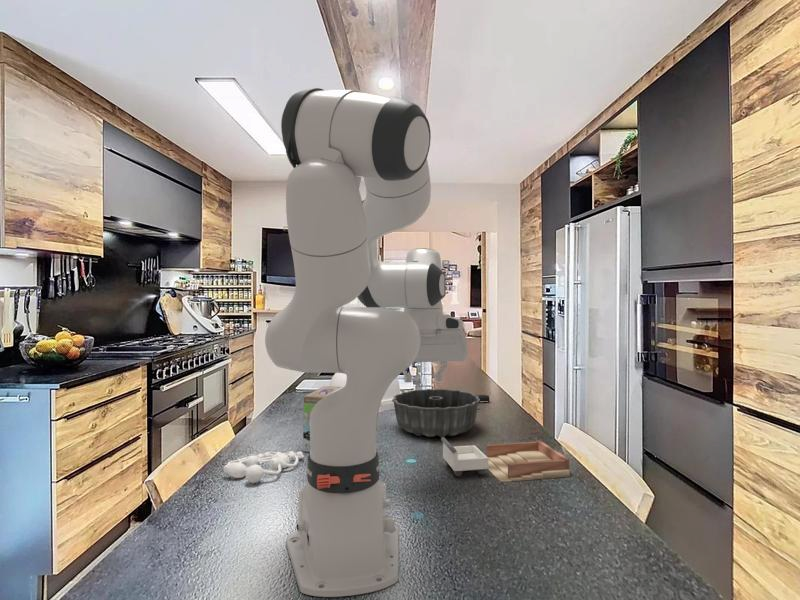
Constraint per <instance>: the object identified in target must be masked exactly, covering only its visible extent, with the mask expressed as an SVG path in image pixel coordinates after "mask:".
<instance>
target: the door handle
mask: <svg viewBox="0 0 800 600" xmlns="http://www.w3.org/2000/svg"><path fill="white" fill-rule="evenodd" d="M475 395H476V396H479V399H480V401H489V402H490V395H486V394H475ZM477 410H480V411H481V408H480V406H479V405H478V407H477Z"/></svg>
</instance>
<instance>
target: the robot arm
mask: <svg viewBox="0 0 800 600" xmlns="http://www.w3.org/2000/svg"><path fill="white" fill-rule="evenodd" d="M280 123H281V124H280V125H281V126H280V127H281V128H280V129H281V136H282V142H283V146H284V149H285V153H286V157H287V159H288V161H289V163H290V165H291V166H292V168H293V169H292V170H291V171H290V172H289V174H288V176H287V179H286V185H285V187H286V189H285V210H286V211H285V213H286V224H287V232H288V239H289V245H290V248H291V255H292V259H293V267H294V269H293V270H294V277H295V289H294V294H293V296H292V298H291V300H290V301H289V303H288V304H287V305H286V307H284V308H283V309H281V310H280V311H279V312H277V313H276V314H275V315H274V316H273V317H272V318H271V319H270V322H269V323H268V326H267V328H266V331H265V336H264V340H265V341H264V343H265V349H266V352H267V355H268V358H269V359H270V360H271V361H272V363H273V364H274V365H275V366H276V367H278V368H282V369H286V370H289V371H295V372H301V373H315V374H317V373H319V374H321V373H323V374H324V373H325V374H326V373H328V374H335V373H344V374H346V375H347V381H346V385H345V387H343V388H342V389H340V390H338V391H336V392H334V393H331V394H329V395H328V396H326V397H324V398H322V399H321V400H320V401H318V402H317V403H316V404H315V406H314V407H313V409H312V411H311V414H310V452H309V454H308V456H307V460H306V461H307V462H306V478H307V481H306V483H305V484H304V485H303V486H302V487H301V489H299V490H298V499H297V500H298V504H297V505H298V506H297V515H298V516H297V524H296V530H295V531H293V532H291V533H289V534H288V535H286V537H285V538H286V539H285V546H286V549H287V553H288V557H289V558H290V559H291V560H290V563H291V567H292V568H293V569H294V570H293V573H294V577H295V579H296V582H297V586H298V589H299V591H300V592H301V594H305V595H306V596H313V597H320V598H321V597H323V598H337V597H347V596H356V595H357V596H358V595H363V594H368V593H373V592H377V591H380V590H384V589H386V588H388V587H391V586H392V585H394V584H396V583H397V582H398V580H399V562H400V561H399V557H400V556H399V552H400V551H399V548H400V547H399V545H400V544H399V540H400V539H399V537H400V536H399V535H400V534H399V531H400V530H399V526H398V525H397V524H396V523H395V522H396V521H395V516H394V515H389V516H387V509H388V508H391V498H387V494H386V493H387V484H386V483H385V482H384V481H382V480H381V479H380V467H381V466H380V459H379V452H378V451H377V430H378V419H379V418H378V415H379V412H378V411H379V407H380V403H381V400H382V398H383V396H384V394H385V392H386V390H387V388H388V387H389V385H390V384H391V383H392V382H393V380H394V379H395V378H396V377H398V376H400V375H401V374H403V381H404V382H405V383H412V381H413V379H412V377H413V374H411V373H408V371H407V369H409V368H410V367H411V366H412V365H413V363H433V362H434V363H436V362H437V363H438V366H440V367H439V369H438V370H437V372H434V373H433V375H434V376H433V377H434V381H435V382H443V374H444V372H445V371H446V369H447V367H448V362H464V361H466V359H467V358H468V341H467V336H466V334H465V331H463V330H462V329H463V328H464V321H463V320H462V319H460V318H457V317H454V316H451V315H450V314H444V312H443V311H444V310H443V309H444V308H443V307H444V305H443V303H442V300H443V299H444V298H445V297H446V277H447V276H446V273H445V272H444V271H443V267H442V261H441V255H440V252H438V251H437V250H435V249H432V248H431V249H430V248H424V247H423V248H421V247H420V248H413V249H411V250H409V251H408V252H407V253H406V259H405V262H403V261H401V262H388V261H386V262H385V261H381V260H379V259H378V239H381V238H382V237H384V236H386V235H388V234H392V233H393V232H394V233H395V232H397V231H401V230H404V229H406V228H408V227H410V226H411V225H413V224H414V223H416V222H417V221H418V220H419V219H420V218H421V217H422V216H423V215H424V214H425V212H426V211H427V209H428V208H429V205H430V203H431V192H432V190H431V189H432V187H431V175H430V168H429V162H428V155H429V153H430V152H429V151H430V147H431V139H432V138H431V127H430V123H429V119H428V118H427V116H426V114H425V112H424V111H423V109H422V108H421V107H420V106H419V105H418V104H416V103H414V102H412V101H410V100H407V99H404V98H402V97H401V98H400V97H393V98H390V97H386V96H382V95H378V94H374V93H367V92H362V91H359V90H356V89H323V88H321V87H320V88H319V87H315V88H308V89H304V90H300V91H298V92H296V93H294V94H292V95H291V96H290V97H289V99H288V101H286V104H285V107H284V110H283V112H282V116H281V121H280ZM362 178H363V180H364V185H365V194H366V195H365V198H364V199H362V196H361V192H360V186H361V181H362ZM356 299H357V300H358V301H359V302H360V303H361V304H362V305H364V307H363V306H362V307H360V306H359V307H358V306H357V307H356V306H355V307H354V306H353V307H351V306H350V307H349V306H347V307H345V306H346V305H347V304H349V303H351V302H353V301H354V300H356ZM396 308H397V309H403V311H402V310H397V309H396Z"/></svg>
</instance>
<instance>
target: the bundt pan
mask: <svg viewBox="0 0 800 600" xmlns="http://www.w3.org/2000/svg"><path fill="white" fill-rule="evenodd" d="M401 392H402V393H401V394H397V395H395V396H394V397H393V399H392V402H394V407H395V409H394V412H395V417H396V423H397V424H398V426H399V427H401V429H403V430H404V431H406V432H408V433H410V434H414V435H415V436H416V437H423V436H426V437H427V438H433V437H437V436H438V437H439V438H440V439H441V438H442V437H444V438H445V437H446V436H448V437H455V436H457V435H464V434H466V433H467V432H468V431H469V430H470V429H471V428H473V426H474V424H475V423H476V419H477V414H478V412H477V407H478V406H479V404H480V403H479V402H480V399H479V396H476V395H477V394H474V393H473V392H469V391H462V390H459V389H456V390H455V389H447V388H435V389H433V388H426V389H414V390H409V391H401Z"/></svg>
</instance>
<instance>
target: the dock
mask: <svg viewBox="0 0 800 600" xmlns="http://www.w3.org/2000/svg"><path fill="white" fill-rule="evenodd" d="M485 446H486V448H485V449H486V450H485V455H486V456H487V457H488V469H487V470H488V471H489V473H491V474H492V475H493V476H494V477H495V478H496V479H497V481H499V482H500V483H508V482H520V481H533V480H546V479H547V480H548V479H555V478H556V479H558V478H569V477H571V471H570V458H568V457H567V456H565V455H564V454H562V453H561V452H559V451H558V450H556V449H554V448H553V447H552V446H550V445H549V444H546V443H545V442H543V441H542V440H540V439H539V440H538V439H537V440H535V441H524V442H523V441H522V442H508V443H493V444H492V443H491V444H486V445H485Z"/></svg>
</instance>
